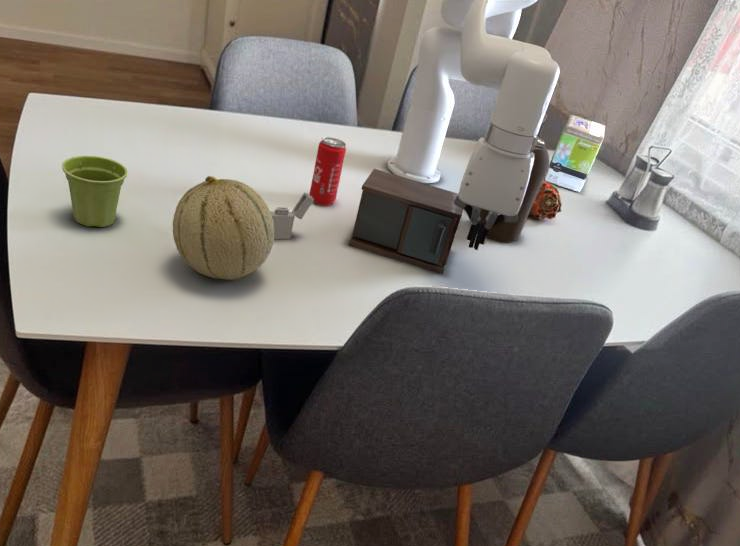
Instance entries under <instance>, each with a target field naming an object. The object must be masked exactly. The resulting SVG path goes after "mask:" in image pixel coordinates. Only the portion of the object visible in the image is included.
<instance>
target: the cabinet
mask: <svg viewBox="0 0 740 546" xmlns="http://www.w3.org/2000/svg"><path fill="white" fill-rule="evenodd" d="M361 190H362V192H361V196H360V200H359V204H358V209H357V212H356V217H355V222H354V226H353V229H352V235H351V237H350V239H349V241H348V246H351V247H354V248H357V249H361V250H363V251H367V252H370V253H373V254H377V255H380V256H383V257H387V258H388V259H389V258H390V259H393V260H396V261H399V262H402V263H406V264H408V265H412V266H414V267H418V268H422V269H425V270H428V271H431V272H435V273H438V274H441V275H444V272H445V270H446V265H447V263H448V259H449V257H450V253H451V251H452V247H453V244H454V241H455V238H456V235H457V231H458V229H459V226H460V223H461V219H462V216H463V213H464V210H462V209H461V208H459V207H457V206H456V205H454V200H455V198H456V196H457V194H458V193H459V192H458V193H457V192H454V191H450V190H447V189H445V188H441V187H437V186H434V185H431V184H429V183H421V182H418V181H415V180H411V179H408V178H405V177H401V176H398V175H396V174H394V173H392V172H388V171H384V170H382V169H379V168H373V170H372V171H371V172H370V174H369V175H368V176H367V178H366V179H365V181H364V182H363V184H362V186H361ZM410 205H414V206H417V207H420V208H423V209H426V210H430V211H433V212H436V213H440V214H443V215H446V216H449V217H453V218H456V222H455V225H454V228H453V231H452V234H451V237H450V241H449V244H448V247H447V250H446V253H445V256H444V259H443V262H442V266H440V265H437V264H434V263H431V262H427V261H424V260H421V259H418V258H414V257H411V256H408V255H405V254H401V253H398V252H397V250H398V247H399V243H400V240H401V236H402V232H403V229H404V225H405V222H406V218H407V214H408V211H409V207H410Z"/></svg>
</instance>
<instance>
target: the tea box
mask: <svg viewBox="0 0 740 546" xmlns="http://www.w3.org/2000/svg"><path fill="white" fill-rule="evenodd" d="M605 131H606V125H604V124H601V123H598V122H595V121H592V120H589V119H586V118H583V117H581V116H577V115H573V114H569V116H568V118H567V120H566V123H565V125H564V127H563V129H562V132H561V134H560V137H559V140H558V142H557V145H556V147H555V149H554V152H553V154H552V157H551V160H550V161H549V167H548V171H547V173H546V175H545V178H544V181H546V182H549V183H550V184H553V185H555V186H559V187H561V188H565V189H568V190H571V191H574V192H578V193H580V192H581V191H582V189H583V187H584V184H585V182H586V180H587V178H588V175H589V174H590V171H591V169H592V167H593V164H594V162H595V160H596V157H597V155H598V153H599V150H600V148H601V145H602V143H603V142H604V138H605Z"/></svg>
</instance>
